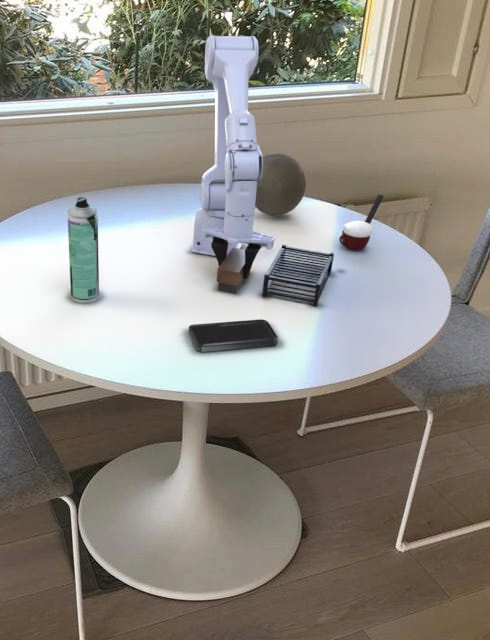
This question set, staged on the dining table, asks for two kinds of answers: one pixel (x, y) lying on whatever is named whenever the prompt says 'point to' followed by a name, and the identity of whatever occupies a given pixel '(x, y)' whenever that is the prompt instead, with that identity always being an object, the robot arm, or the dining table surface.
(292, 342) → the dining table surface
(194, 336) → the phone
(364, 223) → the cocoa
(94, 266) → the spray can
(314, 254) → the shoe rack
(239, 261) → the shoe brush
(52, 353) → the dining table surface
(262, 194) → the cantaloupe
